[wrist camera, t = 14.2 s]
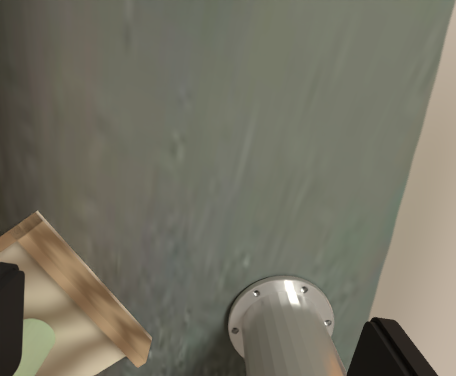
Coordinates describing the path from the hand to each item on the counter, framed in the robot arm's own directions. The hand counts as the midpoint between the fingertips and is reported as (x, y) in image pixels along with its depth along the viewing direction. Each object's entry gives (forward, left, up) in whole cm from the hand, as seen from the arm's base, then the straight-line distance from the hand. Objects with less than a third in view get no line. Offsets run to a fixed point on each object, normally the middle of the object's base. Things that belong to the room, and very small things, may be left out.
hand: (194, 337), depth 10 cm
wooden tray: (-5, +29, -28) cm, 41 cm away
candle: (-6, +30, -28) cm, 41 cm away
